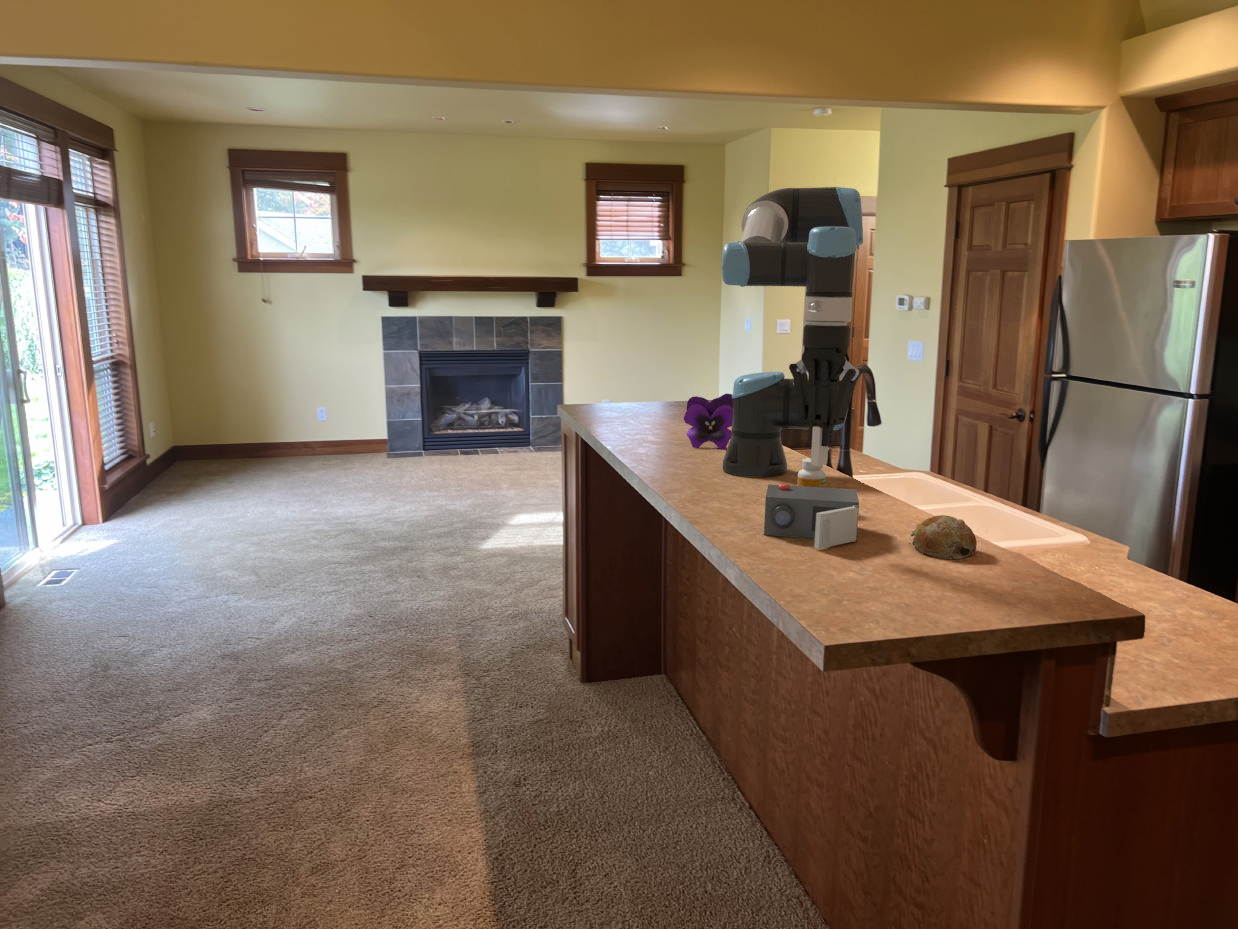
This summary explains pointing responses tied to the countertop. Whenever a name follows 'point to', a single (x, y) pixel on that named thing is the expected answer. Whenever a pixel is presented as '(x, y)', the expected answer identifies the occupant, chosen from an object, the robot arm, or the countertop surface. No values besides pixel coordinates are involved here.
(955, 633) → the countertop surface
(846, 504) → the box with round dial
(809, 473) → the supplement bottle
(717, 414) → the flower
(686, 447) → the countertop surface
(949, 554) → the bread roll
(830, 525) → the side door
